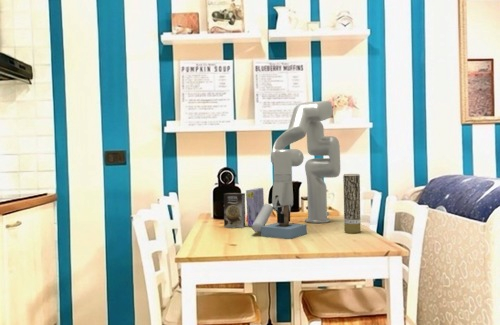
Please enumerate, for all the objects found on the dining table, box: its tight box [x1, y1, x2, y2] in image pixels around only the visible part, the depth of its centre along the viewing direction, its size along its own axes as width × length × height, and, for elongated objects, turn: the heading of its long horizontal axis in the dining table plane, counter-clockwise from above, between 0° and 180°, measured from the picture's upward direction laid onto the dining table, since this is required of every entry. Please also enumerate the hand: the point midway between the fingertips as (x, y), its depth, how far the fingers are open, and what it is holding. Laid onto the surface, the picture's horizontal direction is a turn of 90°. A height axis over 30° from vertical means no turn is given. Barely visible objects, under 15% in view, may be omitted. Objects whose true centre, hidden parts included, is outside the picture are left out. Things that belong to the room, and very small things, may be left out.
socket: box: [260, 222, 308, 240], centre depth 195 cm, size 14×14×4 cm
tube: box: [251, 203, 274, 234], centre depth 205 cm, size 5×5×25 cm
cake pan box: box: [245, 187, 265, 228], centre depth 226 cm, size 19×5×18 cm, turn 165°
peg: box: [279, 204, 290, 227], centre depth 194 cm, size 4×4×12 cm
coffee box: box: [223, 192, 246, 229], centre depth 219 cm, size 9×6×16 cm
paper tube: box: [342, 173, 362, 234], centre depth 198 cm, size 7×7×25 cm
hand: (283, 221), depth 194 cm, fingers closed on peg, 4 cm apart
